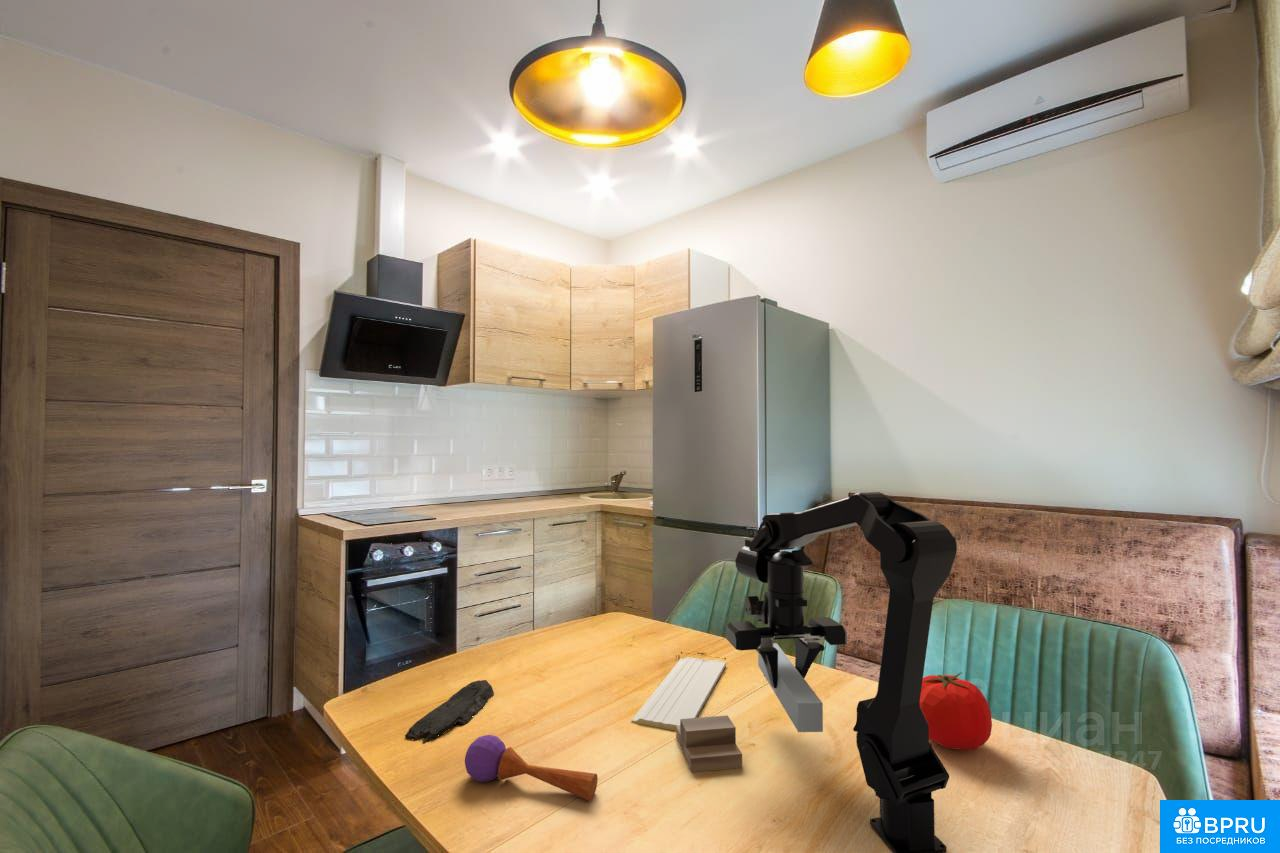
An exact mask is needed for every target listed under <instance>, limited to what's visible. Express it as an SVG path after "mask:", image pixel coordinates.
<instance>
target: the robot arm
mask: <svg viewBox="0 0 1280 853" xmlns="http://www.w3.org/2000/svg"><path fill="white" fill-rule="evenodd" d="M855 526H860V529H861V531H862V534H863V536H864V539H865V540H866V542H867V543H869V544H870V545H871V546H872V547H873V548H874V549H876V550H877V551H878V552H879V561H880V562H879V563H880V569H881V572H882V574H883V576H884V578H885V581H886V582H887V585H888V587H889V595H888V602H887V603H888V604H887V610H886V618H885V628H884V633H883V634H884V637H883V643H882V649H881V650H882V652H881V660H880V668H879V676H878V681H877V691H876V695H875V696H874V697H871V698H868V699H864V700H859V701H858V704H857V705H856V706H857V707H856V722H855V725H854V727H853V728H852V730H853V732H856V746H857V750H858V754H859V757H860V762H861V765H862V770H863V773H864V779H865V783H866V785H867V787H869V788H871V789H872V790H873V791H874V793H875V797H877V798H878V799H879V816H880V817H872V818H870V819H869V825H870V826H871V828H873V830H874V832H876V834H878V835H879V837H880V838H881V839H882V840H883V841H884V843H885V844H886V845H887V846H888V847H889V848H890V850H891V851H892V853H947V851H948V850H947V846H946V845H945V844H944V843H943V841H941V840H940V838H939V837H937V835H936V830H935V828H936V827H935V826H936V825H935V799H934V798H933V796H932V795H933V794H932V793H933V792H935V791H937V790H944V789H945V788H946V787H947V786H948V785H947V784H948V782H949V779H950V774H949V772H948V771H947V769H946V767H945V766H944V764H943V762H942V760H941V759H940V757H939V756H938V754H937V753H936V751H935V749H934V748H933V745H932V744H931V743H930V739H929V726H928V723H927V720H926V718H925V716H924V714H923V712H922V710H921V708H920V695H921V688H922V680H923V678H924V674H925V672H924V671H925V664H926V656H927V649H928V642H929V634H930V627H931V619H932V611H933V606H934V599H935V596H936V595H937V593H938V591H939V590H940V588H942V586H943V585H944V583H945V582H946V580H947V579H948V578H949V576H950V574H951V572H952V567H953V564H954V562H955V559H956V556H957V552H958V551H957V550H958V549H957V548H958V547H957V546H958V545H957V540H956V538H955V536H953V535H952V533H951V531H950V530H949V529H948V528H947V527H946V525H944V524H942V522H941V523H940V522H939V521H936V520H931V519H930V518H928V517H927V516H925V514H922V513H920V512H918V511H916V510H913V509H912V508H909V507H907V506H904V505H903V504H901V503H898V502H896V501H895V500H894V499H892V498H891V497H890V496H888V495H887V494H884V493H883V492H880V491H877V492H876V491H875V492H874V491H872V492H856V493H854V494H852V495H851V496H848V497H846V498H843V499H838V500H836V501H832V502H828V503H826V504H823V505H819V506H816V507H813V508H809V509H806V510H804V511H793V512H791V511H790V512H789V511H788V512H774V513H766V514H764V516H763V517H762V522H761V523H760V525H759V527H758V529H757V531H756V533H755V535H754V537H753V538H746V539H745V540H744V546H743V547H741V548H740V549H739V550H738V553H737V555H736V557H735V562H734V563H735V567H736V570H737V571H738V573H739V574H740V575H742V576H744V577H746V578H749V579H752V580H755V581H758V582H760V583H763V584H767V591H765V592H764V595H763V597H764V599H763V600H760V598H759V596H758V595H752V596H751V595H748V596H745V601H744V602H745V604H744V605H745V606H744V607H745V614H746V616H747V617H750V616H751V617H752V616H753V617H755V618H756V619H755V620H756V622H761V623H762V624H763V625H767V627H764V626H763V627H756V625H755V624H753V623H752V622H751V621H749V620H747V621H745V620H744V621H729V623H728V624H727V626H726V627H725V639H726V641H728V642H729V644H730V645H732V647H733V648H734V649H735V650H738V651H752V650H753V651H754V650H755V652H758V653H760V654H761V657H762V659H763V661H764V664H765V667H766V670H767V673H768V676H769V679H770V682H771V685H772V687H773V688H777V682H778V650H777V649H776V648H775V647H773V643H774V640H789V639H793V642H794V647H795V660H794V666H795V668H796V669H797V670H798V672H799V673H800V674H801V675H802V677H803V678H804V679H805V678H806V677H807V674H808V672H809V669H810V668H811V666H812V664H813V663H814V661H815V659H816V658H817V656H818V654H819V653H820V652H823V651H825V648H826V647H825V646H824V645H823V644H822V643H821V640H822V638H824V640H825V641H826V643H827V644H828V645H829V646H841V645H847V643H848V634H847V633H848V632H847V630H846V628H845V626H844V625H843V624H841V623H840V622H837V621H836V620H834V619H833V618H831V617H829V616H827V617H811V618H810V619H809V620H808V624H805V615H804V614H805V611H804V610H805V607H808V599H807V598H804V567H810V566H811V567H812V566H813V564H814V563H813V560H812V559H811V558H810V557H809V556H808V555H807V554H806V553H805V552H804V549H796V548H801V547H802V548H803V547H804V546H807V545H808V544H810V543H812V542H814V541H815V540H816V539H817V537H819V536H821V535H823V534H826V533H831V532H835V531H838V530H843V529H848V528H852V527H855ZM789 550H791V551H789Z"/></svg>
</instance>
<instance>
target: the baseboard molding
mask: <svg viewBox="0 0 1280 853" xmlns="http://www.w3.org/2000/svg"><path fill="white" fill-rule="evenodd" d="M680 654H683V651H681V652H680ZM680 654H677V655H675V657H678V658H677V659H678V660H677V662H676V663H675V665H674V666H673V667H672V668H671V669H670V671H669V672H668V674H667V675H666V676H665V677H664V679H663V680H662V681H661V683H659V685H658V686H657V688H656V689H655V690H654V692H653V693H651V695H650V696H649V697H648V699H647V700H646V701H645V703H644V704H643V705H642V707H641V708H640V709H639V710H638V711H637V713H636V714H635V716H633V718H632V719H631V723H635V724H641V725H645V726H650V727H654V728H655V727H656V728H661V729H666V730H667V729H668V730H672V731H676V726H678V725H680V719H687V718H698V716H699V714H700V712H701V710H702V708H703V706H704V705H705V703H706V702H707V699H708V698H709V696H710V694H711V692H712V691H713V689H714V688H715V685H716V684H717V682H718V680H719V678H720V677H721V675H722V673H723V671H724V669H725V667H726V666H727V662H726V661H719V660H714V659H705V658H698V657H691V656H686V657H685V658H680ZM686 654H687V655H688V654H690V653H686ZM693 655H694V656H695V655H696V656H697V655H700V656H703V657H704V656H706V653H703V652H697V653H696V654H694V653H693ZM707 657H709V658H712V656H710V655H708V656H707ZM715 658H717V659H719V657H715ZM723 659H724V660H726V659H727V658H726V657H724V658H723V657H722V660H723Z"/></svg>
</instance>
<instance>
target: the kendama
mask: <svg viewBox="0 0 1280 853" xmlns="http://www.w3.org/2000/svg"><path fill="white" fill-rule="evenodd" d="M464 765H465V769H466V773H467V774H468V775H469V776H470V777H471V778H472V780H474V781H476V782H480V783H484V782H490V781H493V780H495V779H496V778H497V777H498V779H499V780H500V781H503V780H506V779H510V778H513V777H517V776H521V775H525V774H526V775H527V776H530V777H533V778H535V779H537V780H540V781H542V782H544V783H546V784H549V785H551V786H553V787H555V788H558V789H560V790H562V791H565V792H566V793H570V794H571V795H573V796H576V797H578V798H581V799H583V800H585V801H587V802H591V801H592V800H593V798H594V796H595V794H596V791H597V787H598V774H597V773H594V772H585V771H579V770H569V769H562V768H556V767H547V766H538V765H531V764H529V763H527V762H526V761H525V760H524V759H523V758H522V757H521V755H519V754H518V753H517V752H516V751H515V750H514V749H513V747H511V746H510V747H507V748H506V744H505V743H504V741H503V740H502V739H501V738H500V737H499V736H497V735H493V734H486V735H481V736H479V737H477V738H476V739H475V740H474V741H472V742H471V743H470V744H469V746H468V748H467V750H466V752H465V756H464Z"/></svg>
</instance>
